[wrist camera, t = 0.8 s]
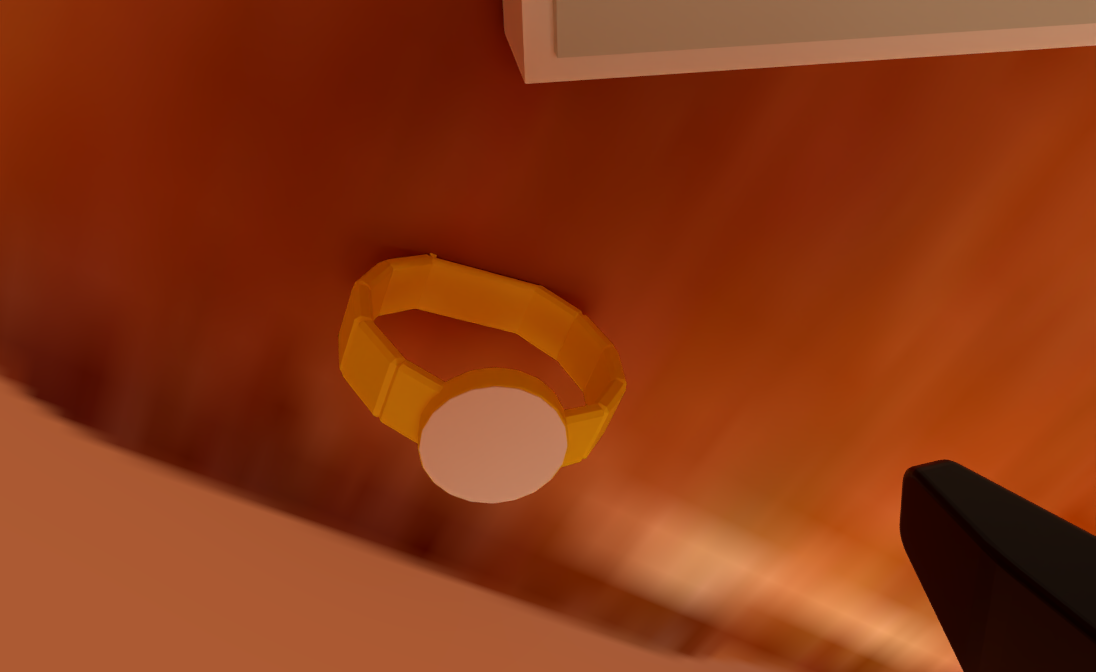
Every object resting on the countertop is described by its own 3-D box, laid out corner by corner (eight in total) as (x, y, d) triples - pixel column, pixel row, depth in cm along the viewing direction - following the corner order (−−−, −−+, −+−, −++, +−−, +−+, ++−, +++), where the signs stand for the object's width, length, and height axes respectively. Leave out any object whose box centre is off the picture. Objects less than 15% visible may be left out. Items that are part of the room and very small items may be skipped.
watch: (344, 305, 21) (302, 465, 16) (375, 203, 19) (340, 340, 14) (575, 371, 22) (606, 537, 17) (619, 280, 21) (665, 430, 16)
